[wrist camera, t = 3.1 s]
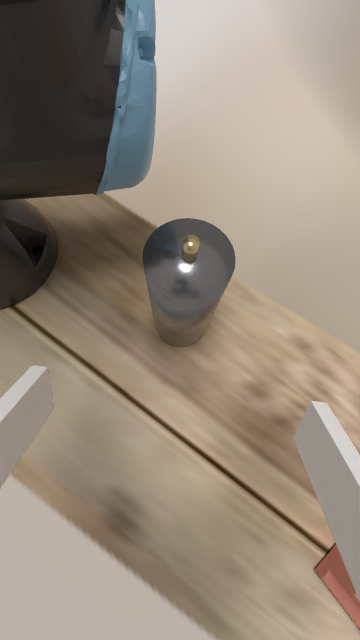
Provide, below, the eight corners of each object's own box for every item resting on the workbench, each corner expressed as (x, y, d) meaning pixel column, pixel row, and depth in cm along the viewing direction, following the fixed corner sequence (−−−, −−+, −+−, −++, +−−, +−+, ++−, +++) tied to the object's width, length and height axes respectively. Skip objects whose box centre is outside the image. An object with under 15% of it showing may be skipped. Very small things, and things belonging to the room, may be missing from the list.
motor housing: (144, 317, 29) (119, 232, 15) (184, 289, 31) (198, 185, 16) (176, 357, 28) (183, 308, 13) (216, 326, 29) (263, 250, 15)
